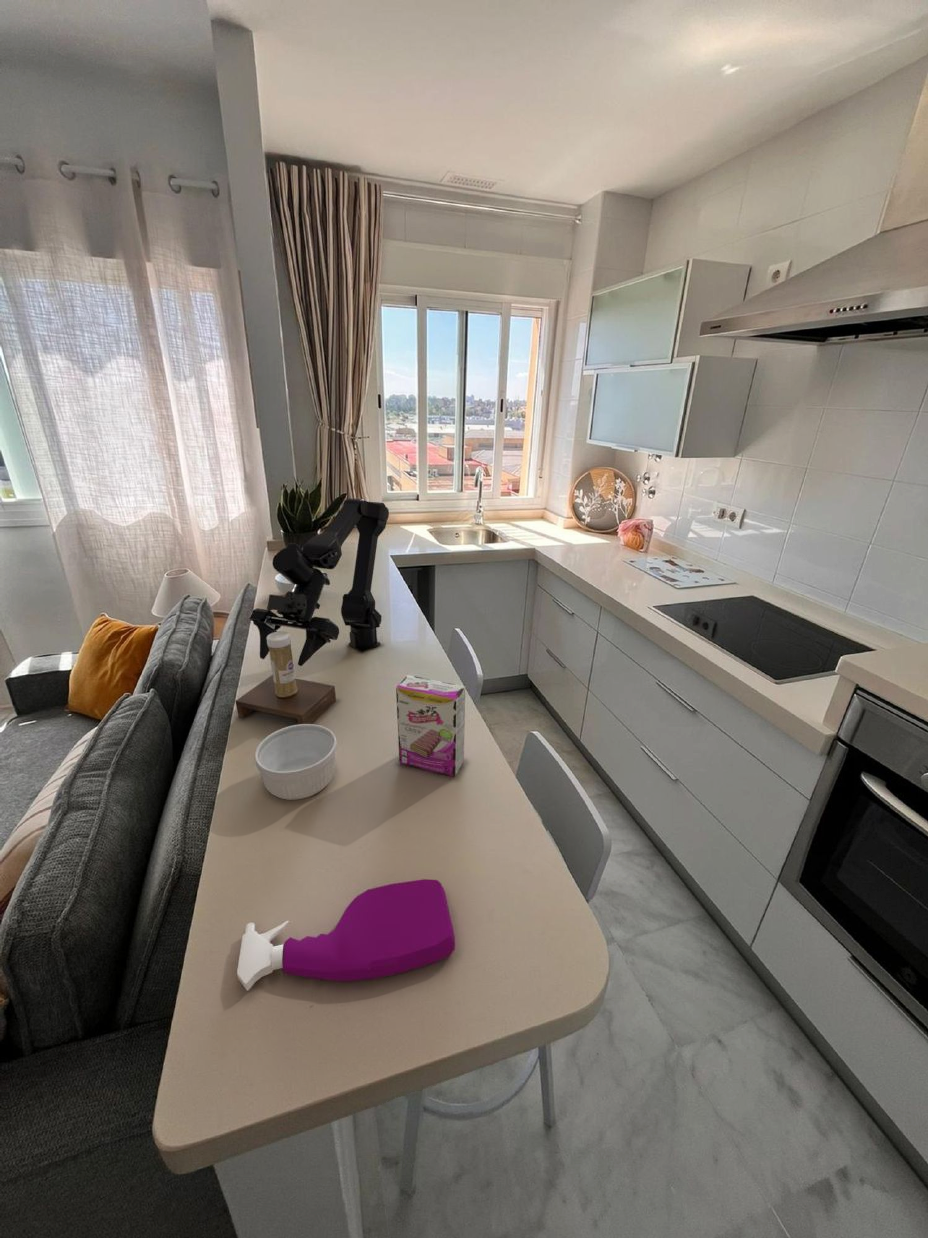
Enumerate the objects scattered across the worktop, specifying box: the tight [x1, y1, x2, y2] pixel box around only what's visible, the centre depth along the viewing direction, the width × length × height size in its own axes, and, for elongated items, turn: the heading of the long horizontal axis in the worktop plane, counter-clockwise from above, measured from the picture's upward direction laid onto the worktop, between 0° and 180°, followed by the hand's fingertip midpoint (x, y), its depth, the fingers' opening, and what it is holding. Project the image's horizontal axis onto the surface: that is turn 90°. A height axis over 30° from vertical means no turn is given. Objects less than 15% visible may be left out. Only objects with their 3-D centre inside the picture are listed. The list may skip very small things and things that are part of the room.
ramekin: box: [254, 723, 338, 801], centre depth 85 cm, size 13×13×7 cm
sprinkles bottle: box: [267, 630, 297, 697], centre depth 102 cm, size 5×5×13 cm
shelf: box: [235, 674, 337, 725], centre depth 106 cm, size 12×16×4 cm
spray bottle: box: [236, 878, 456, 992], centre depth 59 cm, size 3×11×24 cm
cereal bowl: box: [274, 570, 326, 596], centre depth 171 cm, size 17×17×7 cm
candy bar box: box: [395, 674, 466, 778], centre depth 87 cm, size 11×5×16 cm, turn 71°
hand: (280, 662), depth 102 cm, fingers open, 9 cm apart
